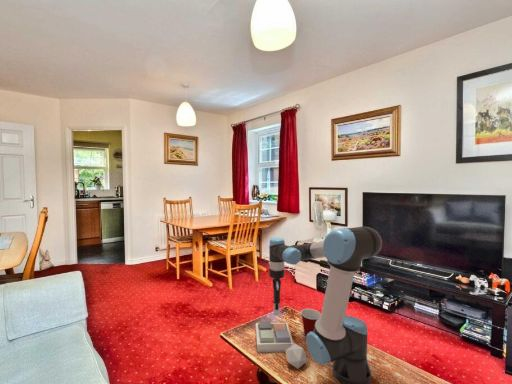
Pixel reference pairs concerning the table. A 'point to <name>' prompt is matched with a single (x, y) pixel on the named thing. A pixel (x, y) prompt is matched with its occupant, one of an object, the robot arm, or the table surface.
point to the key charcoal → (265, 325)
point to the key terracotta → (279, 327)
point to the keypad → (272, 346)
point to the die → (296, 355)
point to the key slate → (282, 336)
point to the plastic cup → (309, 319)
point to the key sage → (266, 336)
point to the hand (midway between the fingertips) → (276, 314)
